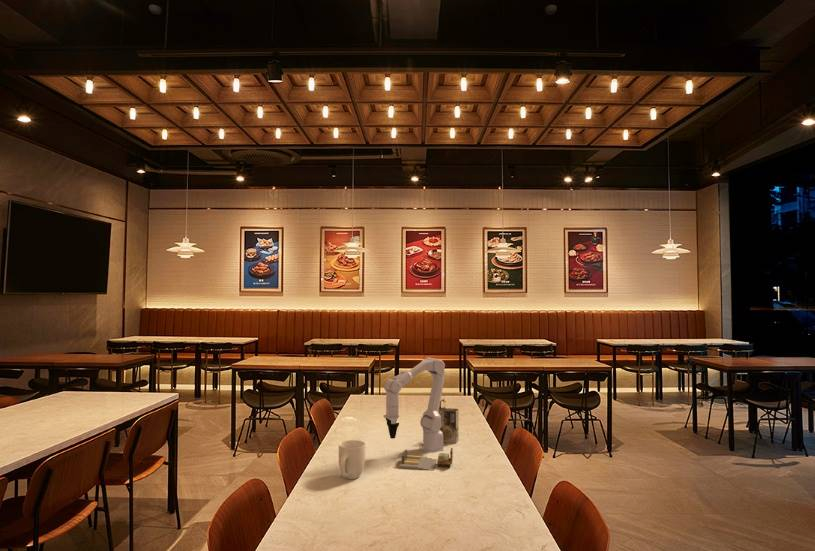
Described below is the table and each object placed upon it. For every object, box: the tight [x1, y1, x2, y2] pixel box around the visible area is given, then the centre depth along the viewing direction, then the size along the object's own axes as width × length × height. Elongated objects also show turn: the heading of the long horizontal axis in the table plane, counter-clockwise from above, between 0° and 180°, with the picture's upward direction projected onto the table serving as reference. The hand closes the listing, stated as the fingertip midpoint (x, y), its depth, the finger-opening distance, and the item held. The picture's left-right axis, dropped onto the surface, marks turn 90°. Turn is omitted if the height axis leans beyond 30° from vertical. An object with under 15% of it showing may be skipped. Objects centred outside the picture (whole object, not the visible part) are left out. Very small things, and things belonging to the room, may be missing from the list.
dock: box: [398, 449, 438, 472], centre depth 197 cm, size 15×14×4 cm
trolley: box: [436, 448, 454, 468], centre depth 196 cm, size 6×6×7 cm
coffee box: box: [439, 407, 460, 444], centre depth 232 cm, size 9×6×16 cm
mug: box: [338, 439, 367, 480], centre depth 181 cm, size 15×11×13 cm
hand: (392, 435), depth 205 cm, fingers open, 7 cm apart
